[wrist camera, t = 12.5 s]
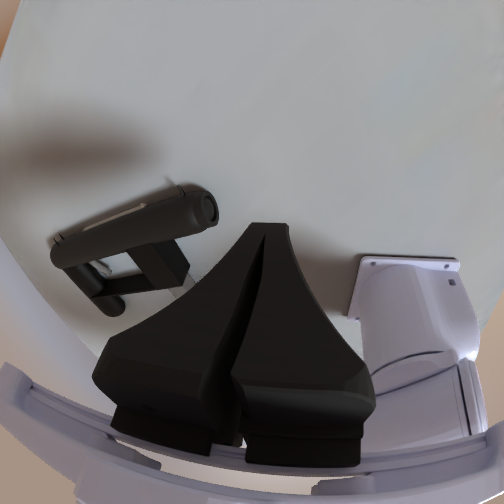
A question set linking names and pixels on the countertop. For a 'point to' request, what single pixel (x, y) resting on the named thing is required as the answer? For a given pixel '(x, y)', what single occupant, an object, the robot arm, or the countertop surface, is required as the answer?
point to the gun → (137, 249)
